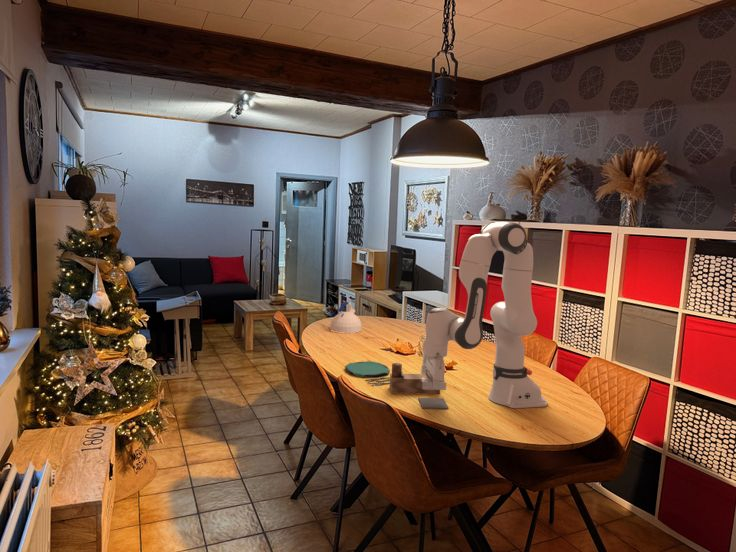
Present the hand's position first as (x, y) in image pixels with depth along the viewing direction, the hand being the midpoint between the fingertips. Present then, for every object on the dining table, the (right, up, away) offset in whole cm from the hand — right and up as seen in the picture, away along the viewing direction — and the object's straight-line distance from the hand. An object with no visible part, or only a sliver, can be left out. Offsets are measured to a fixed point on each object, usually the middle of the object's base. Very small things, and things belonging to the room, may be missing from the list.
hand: (433, 385), depth 193 cm
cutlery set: (-24, -3, +35) cm, 42 cm away
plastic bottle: (+2, -4, +35) cm, 35 cm away
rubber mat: (0, -8, +1) cm, 8 cm away
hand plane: (-6, -6, +15) cm, 18 cm away
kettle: (-39, +8, +122) cm, 128 cm away
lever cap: (0, -1, 0) cm, 1 cm away
